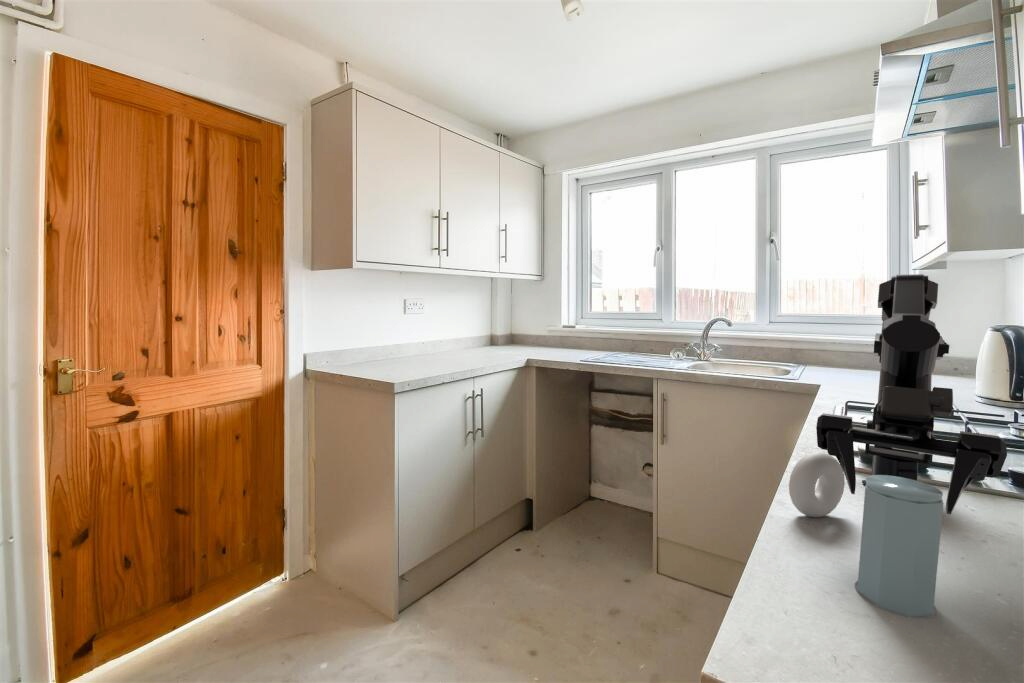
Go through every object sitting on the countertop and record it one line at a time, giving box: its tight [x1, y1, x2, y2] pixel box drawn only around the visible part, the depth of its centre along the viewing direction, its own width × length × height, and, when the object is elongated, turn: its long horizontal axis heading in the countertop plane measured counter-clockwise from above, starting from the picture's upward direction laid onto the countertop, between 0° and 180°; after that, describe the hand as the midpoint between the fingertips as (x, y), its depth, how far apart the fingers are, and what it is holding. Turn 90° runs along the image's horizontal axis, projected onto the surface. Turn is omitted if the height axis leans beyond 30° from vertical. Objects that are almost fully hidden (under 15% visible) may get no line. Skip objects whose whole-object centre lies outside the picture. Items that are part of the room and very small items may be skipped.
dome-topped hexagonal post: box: [856, 474, 944, 618], centre depth 52 cm, size 6×6×13 cm
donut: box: [788, 451, 846, 518], centre depth 73 cm, size 10×3×10 cm, turn 112°
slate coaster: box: [854, 580, 937, 619], centre depth 53 cm, size 7×7×1 cm
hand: (898, 502), depth 59 cm, fingers open, 9 cm apart
